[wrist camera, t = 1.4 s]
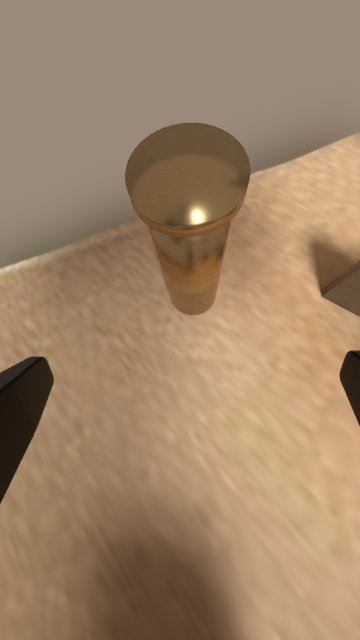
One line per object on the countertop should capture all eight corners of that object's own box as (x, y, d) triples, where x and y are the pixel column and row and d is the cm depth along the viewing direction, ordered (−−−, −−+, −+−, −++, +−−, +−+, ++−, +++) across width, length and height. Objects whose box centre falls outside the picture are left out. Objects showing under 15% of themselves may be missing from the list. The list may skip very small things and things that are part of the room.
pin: (198, 330, 21) (199, 248, 9) (154, 298, 22) (100, 184, 10) (231, 287, 22) (274, 156, 10) (187, 258, 23) (175, 106, 11)
